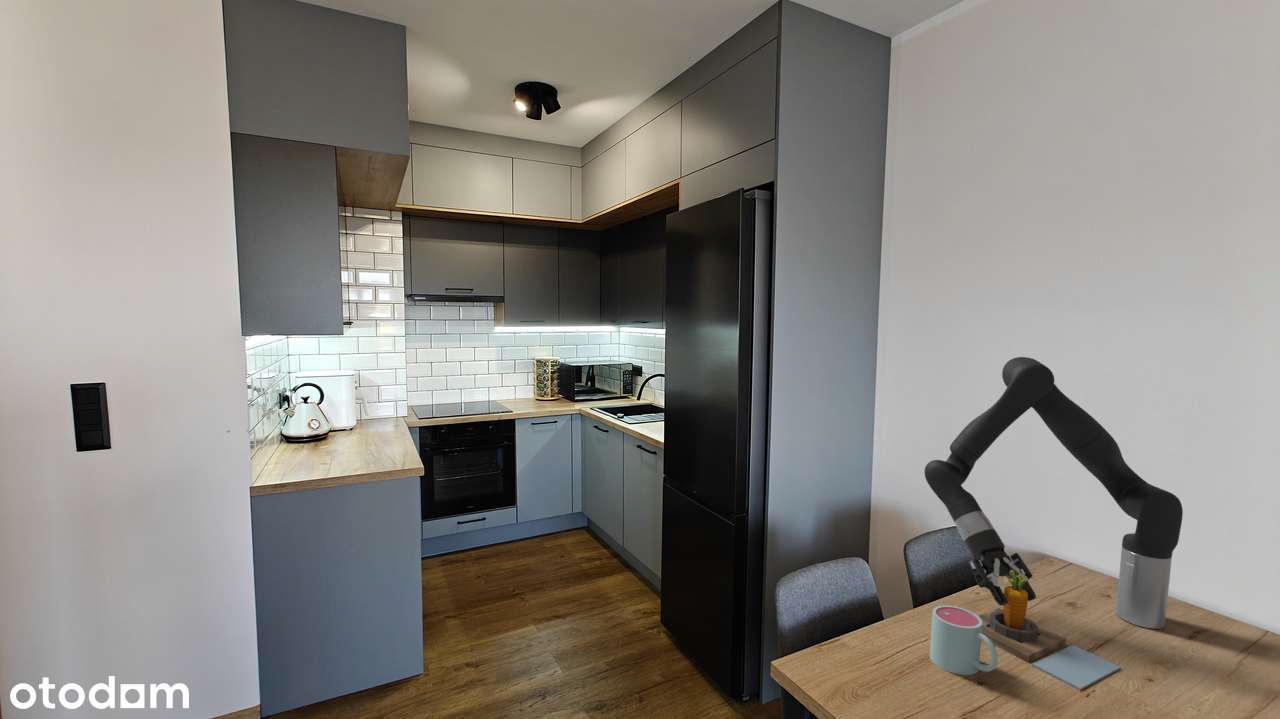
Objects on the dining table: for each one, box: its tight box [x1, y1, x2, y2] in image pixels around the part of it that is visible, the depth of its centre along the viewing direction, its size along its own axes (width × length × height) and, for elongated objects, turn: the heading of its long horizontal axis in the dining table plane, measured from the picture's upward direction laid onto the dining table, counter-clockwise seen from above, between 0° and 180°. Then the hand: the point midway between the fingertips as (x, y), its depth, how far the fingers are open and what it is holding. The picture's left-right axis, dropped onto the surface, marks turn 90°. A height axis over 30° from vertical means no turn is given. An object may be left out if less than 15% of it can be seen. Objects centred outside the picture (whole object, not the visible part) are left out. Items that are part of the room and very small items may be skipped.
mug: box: [929, 605, 999, 676], centre depth 121 cm, size 14×9×10 cm
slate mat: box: [1031, 644, 1121, 691], centre depth 123 cm, size 16×9×1 cm, turn 118°
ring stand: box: [978, 608, 1067, 663], centre depth 134 cm, size 15×15×4 cm
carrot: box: [1002, 570, 1029, 630], centre depth 134 cm, size 5×5×15 cm
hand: (1018, 602), depth 133 cm, fingers open, 8 cm apart
